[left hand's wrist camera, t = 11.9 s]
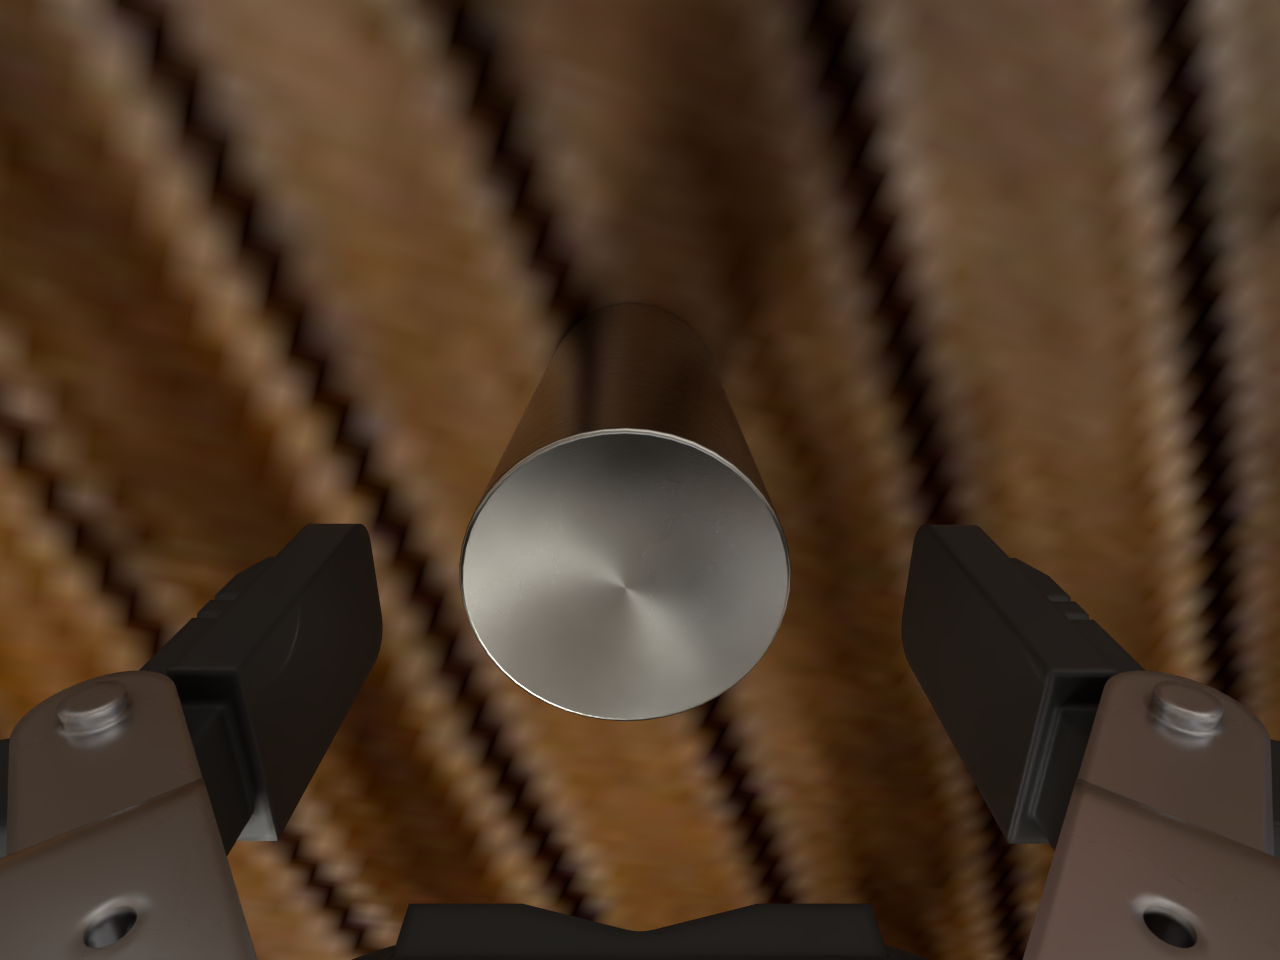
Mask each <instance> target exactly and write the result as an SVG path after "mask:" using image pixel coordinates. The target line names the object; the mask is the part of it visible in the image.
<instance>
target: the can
mask: <svg viewBox="0 0 1280 960" xmlns="http://www.w3.org/2000/svg"><path fill="white" fill-rule="evenodd" d="M459 567H460V589H461V595H462V601H463V605H464V608H465V611H466V614H467V618H468V621H469V623H470V625H471V627H472V629H473V632H474V634H475V636H476V638H477V640H478V641H479V643H480V644H481V646H482V647H483V649H484V651H485V652H486V654H487V655H488V656H489V658H490V659H491V660H492V661H493V662H494V663H495V665H496V666H497V667H498V668H499V669H500V670H501V671H502V672H503V673H504V674H505V675H506V676H507V677H508V678H510V679H511V680H512V681H513V682H514V683H515V684H517V685H518V686H519V687H521V688H522V689H524V690H525V691H527V692H528V693H529V694H531V695H533V696H535V697H536V698H538V699H540V700H542V701H544V702H546V703H547V704H550V705H552V706H555V707H557V708H560V709H562V710H565V711H567V712H571V713H574V714H578V715H581V716H585V717H591V718H597V719H603V720H615V721H637V720H649V719H655V718H662V717H667V716H670V715H674V714H678V713H682V712H685V711H687V710H690V709H692V708H695V707H698V706H700V705H702V704H704V703H706V702H708V701H710V700H712V699H714V698H716V697H718V696H719V695H721V694H722V693H724V692H725V691H727V690H728V689H730V688H731V687H732V686H734V685H735V684H736V683H737V682H739V681H740V680H741V679H742V678H743V677H744V676H745V675H747V674H748V673H749V672H750V671H751V670H752V668H753V667H754V666H755V665H756V664H757V663H758V662H759V660H760V659H761V658H762V657H763V655H764V654H765V652H766V651H767V649H768V648H769V646H770V645H771V643H772V642H773V640H774V638H775V636H776V634H777V632H778V629H779V627H780V625H781V623H782V620H783V617H784V614H785V611H786V608H787V604H788V599H789V593H790V587H791V564H790V556H789V548H788V545H787V541H786V538H785V534H784V530H783V528H782V525H781V523H780V521H779V518H778V516H777V513H776V511H775V509H774V506H773V504H772V502H771V499H770V497H769V495H768V492H767V490H766V488H765V485H764V483H763V480H762V478H761V476H760V473H759V471H758V469H757V466H756V464H755V462H754V459H753V457H752V455H751V452H750V450H749V447H748V445H747V443H746V440H745V438H744V436H743V433H742V431H741V429H740V426H739V424H738V421H737V419H736V417H735V414H734V412H733V410H732V407H731V405H730V403H729V400H728V398H727V396H726V393H725V391H724V388H723V386H722V384H721V381H720V379H719V377H718V374H717V372H716V370H715V367H714V365H713V363H712V360H711V358H710V356H709V353H708V351H707V349H706V347H705V345H704V344H703V342H702V340H701V339H700V337H699V336H698V335H697V334H696V332H695V331H694V330H693V329H692V328H691V327H690V326H689V325H688V324H687V323H686V322H684V321H683V320H682V319H680V318H679V317H677V316H676V315H674V314H672V313H670V312H668V311H666V310H664V309H661V308H658V307H656V306H651V305H647V304H639V303H623V304H616V305H611V306H608V307H605V308H602V309H599V310H597V311H595V312H593V313H591V314H589V315H587V316H586V317H584V318H583V319H581V320H580V321H579V322H578V323H577V324H575V325H574V326H573V327H572V328H571V329H570V330H569V331H568V333H567V334H566V335H565V336H564V338H563V339H562V341H561V342H560V344H559V345H558V347H557V349H556V351H555V353H554V355H553V357H552V359H551V361H550V363H549V365H548V367H547V369H546V371H545V373H544V375H543V377H542V379H541V381H540V383H539V385H538V387H537V389H536V391H535V393H534V395H533V397H532V399H531V401H530V403H529V405H528V407H527V409H526V411H525V413H524V414H523V416H522V418H521V420H520V422H519V424H518V426H517V428H516V430H515V432H514V434H513V436H512V438H511V440H510V442H509V444H508V446H507V448H506V450H505V452H504V454H503V456H502V458H501V460H500V462H499V464H498V466H497V468H496V470H495V472H494V474H493V476H492V478H491V480H490V482H489V484H488V486H487V488H486V490H485V491H484V493H483V495H482V497H481V499H480V501H479V503H478V505H477V507H476V509H475V512H474V514H473V516H472V518H471V520H470V522H469V524H468V527H467V530H466V534H465V537H464V540H463V544H462V550H461V557H460V564H459Z"/></svg>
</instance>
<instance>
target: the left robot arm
mask: <svg viewBox="0 0 1280 960" xmlns="http://www.w3.org/2000/svg"><path fill="white" fill-rule="evenodd" d="M381 640H382V614H381V608H380V601H379V594H378V588H377V581H376V574H375V568H374V561H373V554H372V548H371V542H370V537H369V534H368V531H367V529H366V528H365V526H364V525H362V524H308V525H306V526H305V527H304V528H303V529H302V530H301V531H300V532H299V533H298V534H297V535H296V536H295V537H294V538H293V539H292V540H291V541H290V542H289V543H288V544H287V545H286V546H285V547H284V548H283V549H282V550H281V551H280V553H279V554H278V555H277V556H276V557H268V558H266V559H264V560H262V561H261V562H259V563H257V564H255V565H253V566H251V567H250V568H248V569H246V570H244V571H242V572H240V573H239V574H237V575H236V576H235V577H234V578H233V579H231V580H230V581H229V582H228V583H227V584H226V585H225V586H224V587H223V588H222V589H221V590H220V591H219V592H218V593H217V594H216V595H215V600H210V601H209V602H208V603H207V604H206V605H205V606H204V607H203V608H202V609H201V610H200V611H199V612H198V613H197V618H192V619H191V620H190V621H189V622H188V623H187V624H186V625H185V626H184V627H183V628H182V629H181V630H180V631H179V632H178V633H177V634H176V635H175V636H174V637H173V638H172V639H171V640H170V641H169V642H167V643H166V644H165V645H164V646H163V647H162V648H161V649H160V650H159V651H158V652H157V653H156V654H155V655H154V656H153V657H152V658H151V659H150V660H149V661H148V662H147V663H146V664H145V665H144V666H143V667H142V668H141V669H140V670H139V671H126V672H118V673H113V674H108V675H104V676H100V677H96V678H93V679H90V680H87V681H84V682H81V683H78V684H76V685H74V686H71V687H69V688H67V689H64V690H62V691H60V692H58V693H57V694H55V695H53V696H51V697H49V698H48V699H46V700H44V701H43V702H41V703H40V704H38V705H37V706H36V707H34V708H33V709H32V710H30V711H29V712H28V713H27V714H26V715H25V716H24V717H23V718H22V719H21V720H20V721H19V722H18V724H17V725H16V726H15V728H14V729H13V731H12V733H11V736H10V738H9V739H4V740H0V960H257V958H256V954H255V951H254V947H253V944H252V941H251V937H250V934H249V931H248V927H247V924H246V920H245V917H244V914H243V910H242V907H241V903H240V900H239V897H238V893H237V890H236V887H235V883H234V880H233V876H232V873H231V870H230V866H229V863H228V860H227V855H228V854H229V852H230V851H231V849H232V847H233V846H234V844H235V842H236V841H278V839H279V837H280V835H281V834H282V832H283V830H284V828H285V826H286V824H287V823H288V821H289V819H290V817H291V815H292V813H293V812H294V810H295V808H296V806H297V804H298V802H299V801H300V799H301V797H302V795H303V793H304V791H305V790H306V788H307V786H308V784H309V782H310V780H311V779H312V777H313V775H314V773H315V771H316V769H317V768H318V766H319V764H320V762H321V760H322V759H323V757H324V755H325V753H326V751H327V749H328V748H329V746H330V744H331V742H332V740H333V738H334V737H335V735H336V733H337V731H338V729H339V727H340V726H341V724H342V722H343V720H344V718H345V716H346V715H347V713H348V711H349V709H350V707H351V705H352V704H353V702H354V700H355V698H356V696H357V694H358V693H359V691H360V689H361V687H362V685H363V683H364V682H365V680H366V678H367V676H368V674H369V672H370V671H371V669H372V667H373V665H374V663H375V661H376V659H377V657H378V654H379V650H380V646H381ZM902 641H903V647H904V652H905V655H906V658H907V661H908V663H909V665H910V666H911V668H912V670H913V672H914V674H915V676H916V677H917V679H918V681H919V683H920V685H921V686H922V688H923V690H924V692H925V694H926V695H927V697H928V699H929V701H930V703H931V704H932V706H933V708H934V710H935V712H936V713H937V715H938V717H939V719H940V721H941V723H942V724H943V726H944V728H945V730H946V732H947V733H948V735H949V737H950V739H951V741H952V742H953V744H954V746H955V748H956V750H957V751H958V753H959V755H960V757H961V759H962V760H963V762H964V764H965V766H966V768H967V770H968V771H969V773H970V775H971V777H972V779H973V780H974V782H975V784H976V786H977V788H978V789H979V791H980V793H981V795H982V797H983V798H984V800H985V802H986V804H987V806H988V807H989V809H990V811H991V813H992V815H993V817H994V818H995V820H996V822H997V824H998V826H999V827H1000V829H1001V831H1002V833H1003V835H1004V836H1005V838H1006V840H1007V842H1008V843H1050V844H1051V846H1052V848H1053V849H1054V851H1055V853H1054V856H1053V860H1052V863H1051V866H1050V870H1049V873H1048V876H1047V880H1046V883H1045V887H1044V890H1043V893H1042V897H1041V900H1040V903H1039V907H1038V910H1037V914H1036V917H1035V920H1034V924H1033V927H1032V931H1031V934H1030V937H1029V941H1028V944H1027V947H1026V951H1025V954H1024V958H1023V960H1280V741H1276V740H1271V739H1270V736H1269V733H1268V731H1267V729H1266V728H1265V726H1264V725H1263V724H1262V722H1261V721H1260V720H1259V719H1258V718H1257V717H1256V716H1255V715H1254V714H1253V713H1252V712H1251V711H1250V710H1248V709H1247V708H1246V707H1244V706H1243V705H1242V704H1240V703H1239V702H1237V701H1236V700H1234V699H1232V698H1231V697H1229V696H1227V695H1225V694H1223V693H1222V692H1220V691H1218V690H1216V689H1213V688H1211V687H1209V686H1206V685H1204V684H1202V683H1199V682H1196V681H1193V680H1190V679H1187V678H1184V677H1180V676H1176V675H1172V674H1167V673H1162V672H1154V671H1146V670H1144V669H1143V668H1142V667H1141V666H1140V665H1139V664H1138V663H1137V662H1136V661H1135V660H1134V659H1133V658H1132V657H1131V656H1130V655H1129V654H1128V653H1127V652H1126V651H1125V650H1124V649H1123V648H1122V647H1121V646H1120V645H1119V644H1118V643H1117V642H1116V641H1115V640H1114V639H1113V638H1112V637H1111V636H1110V635H1109V634H1108V633H1107V632H1106V631H1104V630H1103V629H1102V628H1101V627H1100V626H1099V625H1098V624H1097V623H1096V622H1095V621H1094V620H1089V615H1088V614H1087V613H1086V612H1085V611H1084V610H1083V609H1082V608H1081V607H1080V606H1079V605H1078V604H1077V603H1076V602H1071V600H1070V596H1069V595H1068V594H1067V593H1066V592H1065V591H1063V590H1062V589H1061V588H1060V587H1059V586H1058V585H1057V584H1056V583H1055V582H1054V581H1053V580H1052V579H1051V578H1050V577H1049V576H1048V575H1046V574H1044V573H1042V572H1040V571H1038V570H1037V569H1035V568H1033V567H1031V566H1029V565H1027V564H1026V563H1024V562H1022V561H1020V560H1018V559H1016V558H1009V557H1008V556H1007V555H1006V554H1005V553H1004V552H1003V551H1002V550H1001V549H1000V548H999V547H998V546H997V545H996V543H995V542H994V541H993V540H992V539H991V538H990V537H989V536H988V535H987V534H986V533H985V532H984V531H983V530H982V529H981V528H980V527H979V526H976V525H922V526H921V527H920V528H919V529H918V531H917V533H916V535H915V539H914V544H913V550H912V556H911V563H910V570H909V576H908V583H907V589H906V596H905V602H904V609H903V615H902ZM352 960H928V959H925V958H922V957H920V956H917V955H914V954H911V953H908V952H906V951H903V950H900V949H897V948H893V947H889V946H886V945H884V943H883V940H882V937H881V934H880V931H879V927H878V924H877V921H876V918H875V915H874V912H873V909H872V905H871V904H755V905H751V906H747V907H743V908H739V909H735V910H731V911H727V912H723V913H719V914H715V915H711V916H707V917H703V918H699V919H695V920H691V921H687V922H683V923H679V924H675V925H671V926H667V927H663V928H659V929H655V930H650V931H630V930H625V929H621V928H617V927H613V926H609V925H605V924H601V923H597V922H593V921H589V920H585V919H581V918H577V917H573V916H569V915H565V914H561V913H557V912H553V911H549V910H545V909H541V908H537V907H533V906H529V905H525V904H409V905H408V909H407V912H406V915H405V918H404V921H403V924H402V927H401V931H400V934H399V937H398V940H397V943H396V945H395V946H391V947H387V948H383V949H380V950H377V951H374V952H372V953H369V954H366V955H363V956H360V957H358V958H355V959H352Z"/></svg>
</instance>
